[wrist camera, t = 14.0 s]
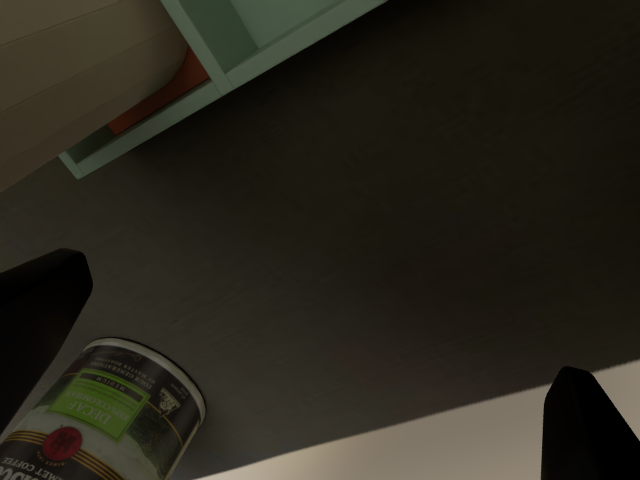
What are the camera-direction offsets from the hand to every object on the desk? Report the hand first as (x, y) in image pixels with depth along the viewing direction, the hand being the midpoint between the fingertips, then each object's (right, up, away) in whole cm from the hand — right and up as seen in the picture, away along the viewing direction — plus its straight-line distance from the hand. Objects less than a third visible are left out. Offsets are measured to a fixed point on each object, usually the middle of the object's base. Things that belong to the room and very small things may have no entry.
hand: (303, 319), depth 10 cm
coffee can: (-13, -9, +29) cm, 33 cm away
